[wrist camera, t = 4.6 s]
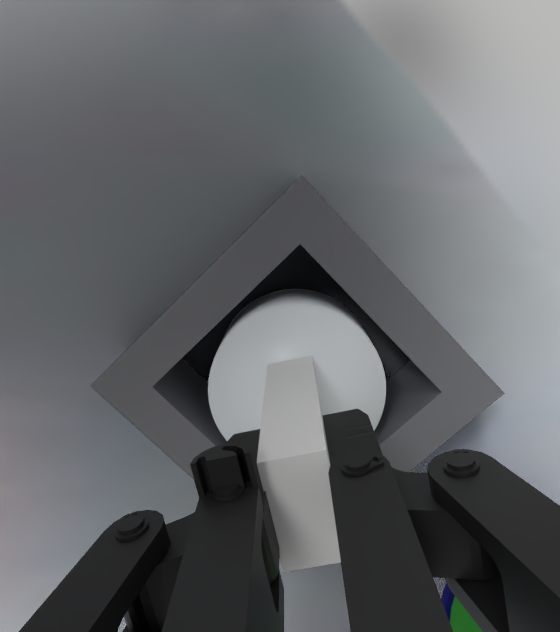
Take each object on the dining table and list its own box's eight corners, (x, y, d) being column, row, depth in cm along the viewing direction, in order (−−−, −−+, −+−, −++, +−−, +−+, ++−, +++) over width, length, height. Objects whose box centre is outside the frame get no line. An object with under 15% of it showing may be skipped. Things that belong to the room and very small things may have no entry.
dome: (187, 362, 21) (170, 390, 18) (297, 256, 20) (299, 267, 17) (293, 462, 22) (294, 504, 19) (403, 366, 21) (423, 394, 18)
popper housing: (125, 351, 22) (90, 385, 18) (298, 178, 20) (301, 175, 16) (291, 505, 24) (292, 568, 20) (465, 357, 22) (504, 393, 18)
